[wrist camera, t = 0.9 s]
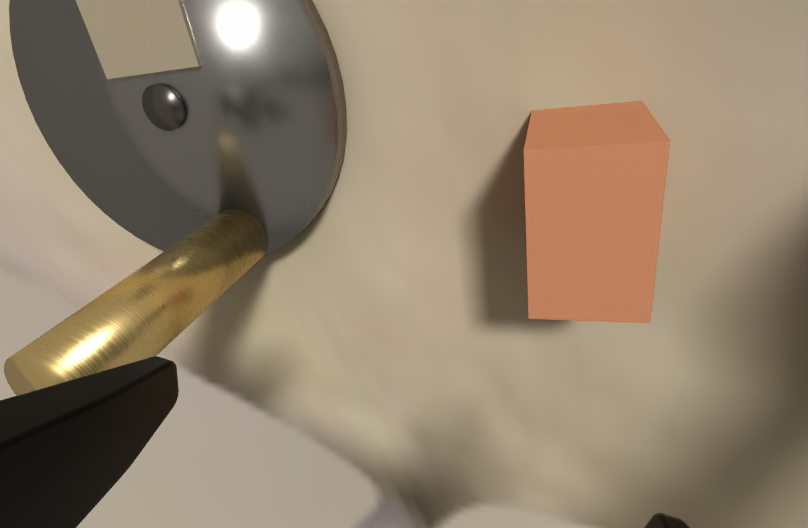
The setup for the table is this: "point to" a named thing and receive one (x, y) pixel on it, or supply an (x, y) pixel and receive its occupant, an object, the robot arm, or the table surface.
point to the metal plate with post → (177, 151)
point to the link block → (593, 211)
